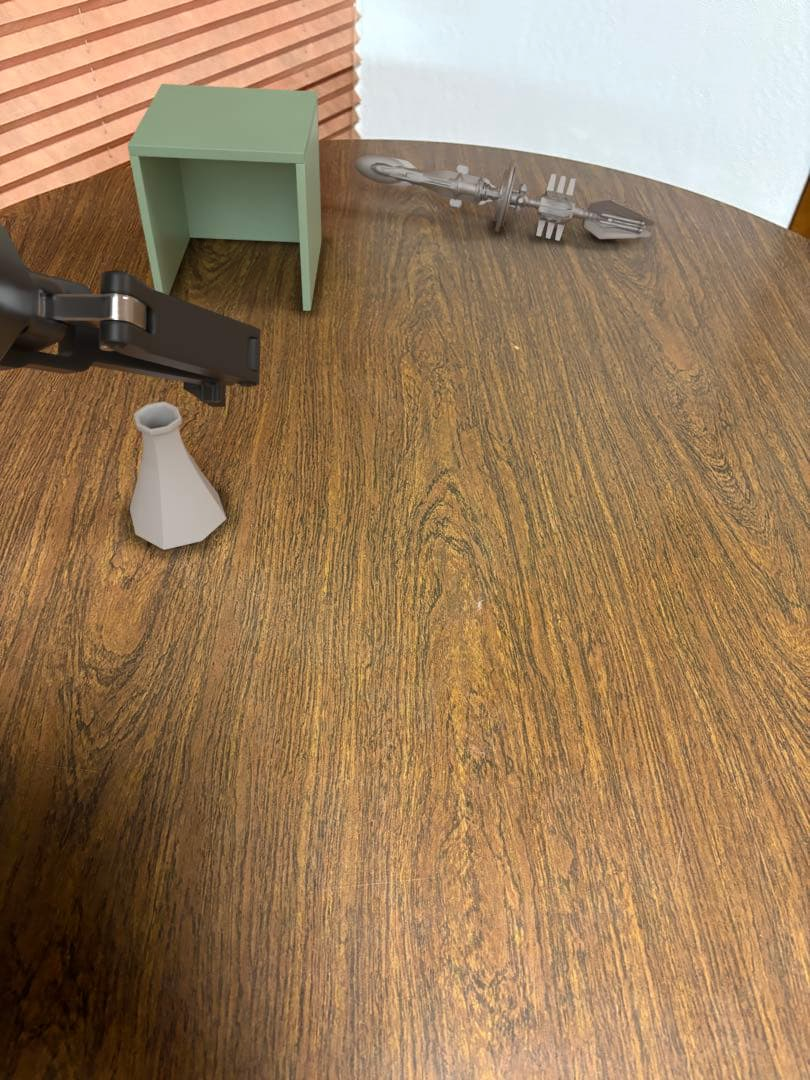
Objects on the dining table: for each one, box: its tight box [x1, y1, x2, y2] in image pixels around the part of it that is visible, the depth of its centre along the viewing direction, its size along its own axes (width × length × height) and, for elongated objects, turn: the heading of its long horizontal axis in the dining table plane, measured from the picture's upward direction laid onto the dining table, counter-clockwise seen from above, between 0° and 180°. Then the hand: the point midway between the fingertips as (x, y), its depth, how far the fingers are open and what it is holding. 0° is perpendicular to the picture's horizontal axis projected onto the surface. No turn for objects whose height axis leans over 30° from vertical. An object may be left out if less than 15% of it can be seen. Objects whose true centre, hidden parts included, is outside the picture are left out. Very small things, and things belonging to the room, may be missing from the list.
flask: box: [129, 400, 227, 551], centre depth 64 cm, size 7×7×10 cm
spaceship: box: [354, 153, 655, 242], centre depth 99 cm, size 8×35×8 cm
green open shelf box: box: [127, 83, 323, 312], centre depth 87 cm, size 15×16×16 cm
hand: (92, 377), depth 46 cm, fingers open, 13 cm apart
